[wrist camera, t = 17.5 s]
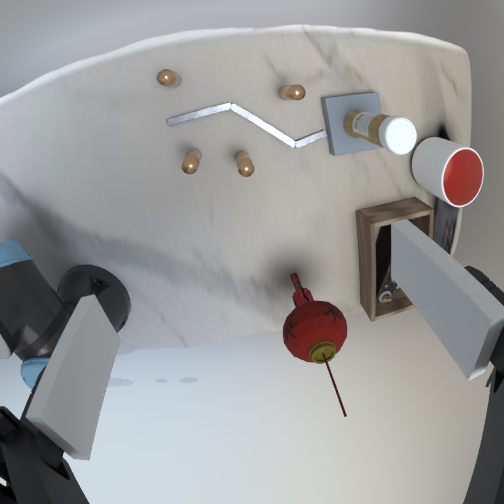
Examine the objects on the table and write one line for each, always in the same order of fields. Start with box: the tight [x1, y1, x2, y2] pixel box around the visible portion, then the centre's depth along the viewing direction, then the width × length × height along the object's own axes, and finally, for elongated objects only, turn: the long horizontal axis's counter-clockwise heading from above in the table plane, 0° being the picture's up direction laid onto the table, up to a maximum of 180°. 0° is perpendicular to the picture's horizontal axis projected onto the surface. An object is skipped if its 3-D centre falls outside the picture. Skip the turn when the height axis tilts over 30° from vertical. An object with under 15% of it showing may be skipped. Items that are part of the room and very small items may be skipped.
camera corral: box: [356, 197, 434, 321], centre depth 54 cm, size 13×21×6 cm, turn 12°
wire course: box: [157, 69, 326, 177], centre depth 39 cm, size 23×16×8 cm
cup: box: [412, 137, 484, 207], centre depth 44 cm, size 10×10×10 cm
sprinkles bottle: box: [344, 110, 416, 155], centre depth 37 cm, size 5×5×14 cm
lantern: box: [283, 273, 347, 417], centre depth 44 cm, size 10×10×30 cm
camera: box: [375, 219, 418, 305], centre depth 53 cm, size 16×7×8 cm, turn 171°
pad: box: [321, 92, 383, 156], centre depth 44 cm, size 9×9×2 cm
